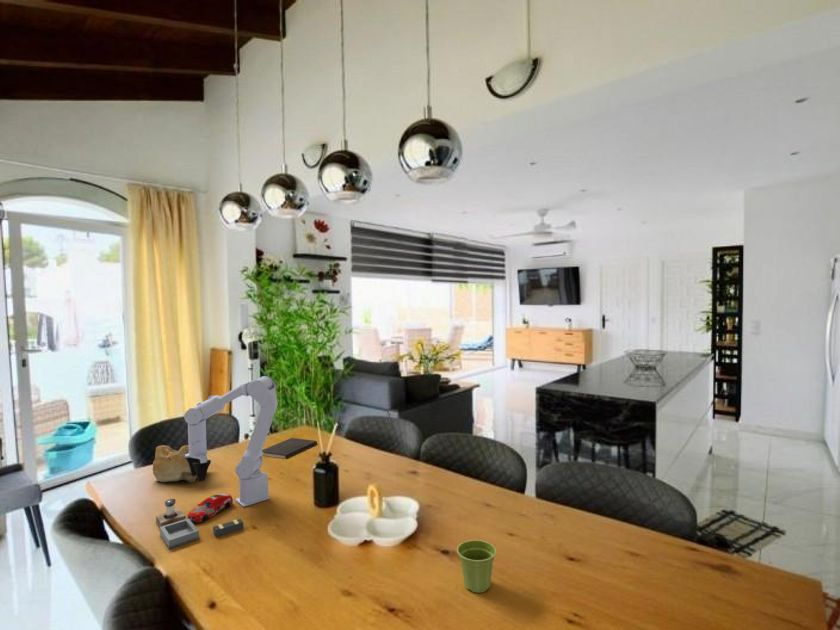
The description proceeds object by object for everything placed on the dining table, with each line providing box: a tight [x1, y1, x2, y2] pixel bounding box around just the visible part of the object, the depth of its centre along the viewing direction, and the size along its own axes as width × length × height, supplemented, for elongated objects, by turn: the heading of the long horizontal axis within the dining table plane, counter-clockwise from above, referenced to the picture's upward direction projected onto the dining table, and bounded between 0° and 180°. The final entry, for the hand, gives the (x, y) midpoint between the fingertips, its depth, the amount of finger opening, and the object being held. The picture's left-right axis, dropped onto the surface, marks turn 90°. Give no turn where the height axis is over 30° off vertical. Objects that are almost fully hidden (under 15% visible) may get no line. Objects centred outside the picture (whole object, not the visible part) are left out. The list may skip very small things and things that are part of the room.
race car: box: [187, 493, 234, 524], centre depth 150 cm, size 16×7×5 cm, turn 159°
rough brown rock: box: [152, 444, 197, 483], centre depth 184 cm, size 23×17×15 cm
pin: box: [164, 498, 176, 519], centre depth 144 cm, size 3×3×7 cm
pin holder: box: [155, 508, 187, 528], centre depth 144 cm, size 7×7×2 cm
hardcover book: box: [262, 437, 318, 460], centre depth 217 cm, size 16×23×2 cm
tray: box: [159, 517, 200, 550], centre depth 135 cm, size 8×11×2 cm
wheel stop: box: [212, 518, 244, 539], centre depth 137 cm, size 8×3×3 cm, turn 128°
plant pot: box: [456, 539, 497, 594], centre depth 108 cm, size 9×9×9 cm
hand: (198, 478), depth 160 cm, fingers open, 7 cm apart
